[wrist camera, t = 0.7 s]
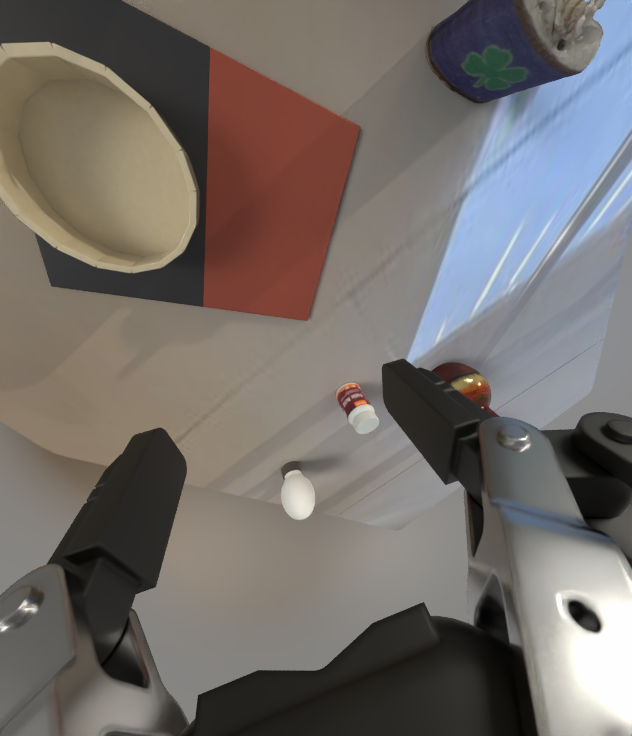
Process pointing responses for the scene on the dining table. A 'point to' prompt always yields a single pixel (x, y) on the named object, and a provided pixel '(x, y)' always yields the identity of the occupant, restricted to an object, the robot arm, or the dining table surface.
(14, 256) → the dining table surface
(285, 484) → the light bulb
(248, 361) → the dining table surface
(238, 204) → the placemat
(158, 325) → the dining table surface
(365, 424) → the pill bottle
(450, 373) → the vase
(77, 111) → the bowl
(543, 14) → the flask
